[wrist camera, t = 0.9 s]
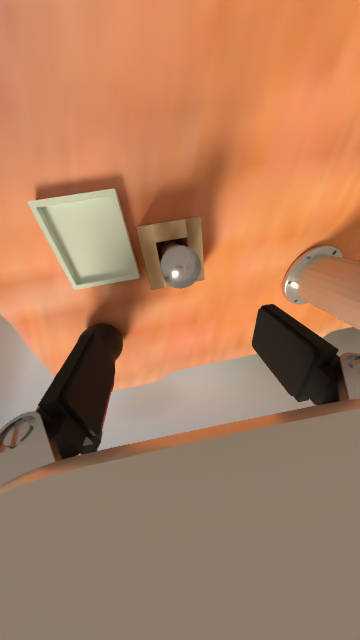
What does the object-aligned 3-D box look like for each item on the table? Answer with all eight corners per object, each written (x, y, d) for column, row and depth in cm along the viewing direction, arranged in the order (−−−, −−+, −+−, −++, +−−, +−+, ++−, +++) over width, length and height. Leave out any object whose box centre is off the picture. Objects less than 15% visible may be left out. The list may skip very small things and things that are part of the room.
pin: (181, 234, 27) (199, 243, 17) (184, 262, 29) (202, 284, 19) (155, 239, 27) (156, 250, 17) (160, 266, 29) (165, 291, 19)
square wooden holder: (193, 217, 26) (201, 216, 22) (197, 271, 31) (204, 280, 27) (138, 226, 25) (135, 227, 21) (151, 280, 30) (151, 289, 26)
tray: (116, 190, 23) (114, 188, 21) (140, 275, 30) (139, 278, 28) (35, 202, 22) (26, 201, 21) (78, 286, 29) (74, 290, 27)
